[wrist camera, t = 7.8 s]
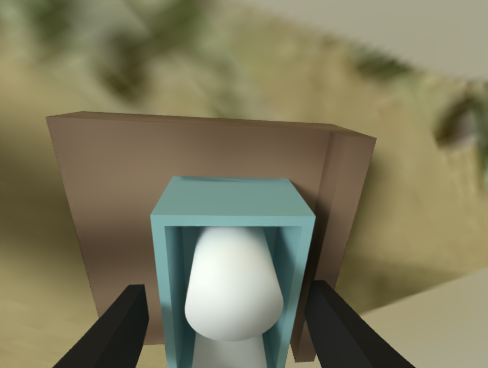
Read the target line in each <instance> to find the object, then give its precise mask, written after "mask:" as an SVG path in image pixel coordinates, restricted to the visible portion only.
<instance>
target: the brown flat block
mask: <svg viewBox="0 0 488 368" xmlns="http://www.w3.org/2000/svg"><path fill="white" fill-rule="evenodd" d="M46 120H47V124H48V128H49V132H50V135H51V139H52V143H53V147H54V151H55V154H56V158H57V162H58V166H59V169H60V173H61V177H62V181H63V185H64V188H65V192H66V196H67V200H68V203H69V207H70V211H71V215H72V218H73V222H74V226H75V230H76V234H77V237H78V241H79V245H80V249H81V252H82V256H83V260H84V264H85V267H86V271H87V275H88V279H89V283H90V286H91V290H92V294H93V298H94V301H95V305H96V309H97V313H98V316H99V318H100V317H101V316H102V315H103V314H104V313H105V311H106V310H107V309H108V308H109V307H110V306H111V305H112V303H113V302H114V301H115V300H116V299H117V298H118V296H119V295H120V294H121V293H122V292H123V291H124V289H125V288H126V287H127V286H128V285H132V284H145V291H146V298H147V305H148V312H149V323H148V327H147V331H146V335H145V339H144V343H143V345H156V344H165V341H164V332H163V323H162V315H161V306H160V297H159V288H158V279H157V271H156V262H155V253H154V244H153V235H152V227H151V218H150V215H151V213H152V211H153V209H154V208H155V206H156V204H157V203H158V201H159V199H160V197H161V196H162V194H163V192H164V191H165V189H166V187H167V185H168V184H169V182H170V180H171V179H172V177H173V176H194V177H234V178H275V179H289V180H290V182H291V183H292V185H293V186H294V187H295V189H296V190H297V191H298V193H299V194H300V195H301V197H302V198H303V200H304V201H305V202H306V204H307V205H308V206H309V208H310V209H311V211H312V212H313V213H314V215H315V216H316V218H315V222H314V227H313V232H312V237H311V242H310V247H309V252H308V256H307V261H306V266H305V271H304V276H303V281H302V285H301V290H300V295H299V300H298V305H297V310H296V315H295V319H294V324H293V329H292V334H291V339H290V344H291V348H292V351H293V356H294V359H295V362H310V361H314V359H315V356H316V351H315V348H314V346H313V343H312V340H311V337H310V334H309V330H308V326H307V322H306V318H305V314H304V311H305V306H306V302H307V298H308V293H309V289H310V284H311V280H325V281H326V282H327V283H328V284H329V285H330V286H331V287H332V288H333V289H334V288H335V285H336V281H337V277H338V274H339V270H340V267H341V263H342V260H343V256H344V253H345V249H346V246H347V242H348V238H349V235H350V231H351V228H352V224H353V221H354V217H355V214H356V210H357V207H358V203H359V199H360V196H361V192H362V189H363V185H364V182H365V178H366V175H367V171H368V167H369V164H370V160H371V157H372V153H373V150H374V146H375V143H376V139H377V138H374V137H371V136H368V135H365V134H361V133H358V132H355V131H352V130H349V129H346V128H342V127H339V126H336V125H333V124H319V123H300V122H280V121H260V120H241V119H221V118H201V117H182V116H162V115H142V114H123V113H103V112H83V111H81V112H75V113H68V114H62V115H55V116H49V117H46Z"/></svg>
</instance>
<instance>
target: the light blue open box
mask: <svg viewBox="0 0 488 368" xmlns="http://www.w3.org/2000/svg"><path fill="white" fill-rule="evenodd" d="M150 218H151V227H152V235H153V244H154V253H155V262H156V271H157V279H158V288H159V297H160V306H161V315H162V323H163V332H164V341H165V350H166V359H167V367H168V368H285V363H286V358H287V353H288V348H289V344H290V339H291V334H292V329H293V324H294V319H295V315H296V310H297V305H298V300H299V295H300V290H301V285H302V281H303V276H304V271H305V266H306V261H307V256H308V252H309V247H310V242H311V237H312V232H313V227H314V222H315V218H316V216H315V215H314V213H313V212H312V211H311V209H310V208H309V206H308V205H307V204H306V202H305V201H304V200H303V198H302V197H301V195H300V194H299V193H298V191H297V190H296V189H295V187H294V186H293V185H292V183H291V182H290V180H289V179H275V178H234V177H194V176H173V177H172V179H171V180H170V182H169V184H168V185H167V187H166V189H165V191H164V192H163V194H162V196H161V197H160V199H159V201H158V203H157V204H156V206H155V208H154V209H153V211H152V213H151V215H150Z"/></svg>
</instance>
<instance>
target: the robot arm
mask: <svg viewBox="0 0 488 368" xmlns="http://www.w3.org/2000/svg"><path fill="white" fill-rule="evenodd" d="M304 314H305V318H306V322H307V326H308V330H309V334H310V337H311V340H312V343H313V346H314V348H315V351H316V354H317V356H318V359H319V361H320V364H321V367H322V368H415V367H414V366H413V365H412V364H410V363H409V362H408V361H407V360H406V359H404V357H402V356H401V355H400V354H399V353H398V352H397V351H396V350H394V349H393V348H392V347H391V346H390V345H389V344H388V343H387V342H386V341H385V340H384V339H382V338H381V337H380V336H379V335H378V334H377V333H376V332H375V331H374V330H373V329H372V328H371V327H370V326H369V325H368V324H367V323H366V322H365V321H364V320H362V319H361V317H360V316H359V315H358V314H357V313H356V312H355V311H354V310H353V309H352V308H351V307H350V306H349V305H348V304H347V303H346V302H345V301H344V300H343V299H342V298H341V297H340V296H339V295H338V294H337V293H336V292H335V290H334V289H333V288H332V287H331V286H330V285H329V284H328V283H327V282H326V281H325V280H311V284H310V289H309V293H308V298H307V302H306V306H305V311H304ZM148 323H149V312H148V305H147V298H146V291H145V284H132V285H128V286H127V287H126V288H125V289H124V291H123V292H122V293H121V294H120V295H119V296H118V298H117V299H116V300H115V301H114V302H113V303H112V305H111V306H110V307H109V308H108V309H107V310H106V311H105V313H104V314H103V315H102V316H101V317H100V318H99V319H98V320H97V321H96V323H95V324H94V325H93V326H92V327H91V328H90V329H89V330H88V331H87V332H86V333H85V335H84V336H83V337H82V338H81V339H80V340H79V341H78V342H77V343H76V344H75V345H74V346H73V347H72V348H71V349H70V350H69V351H68V352H67V353H66V354H65V355H64V356H63V357H62V358H61V359H60V360H59V361H58V362H57V363H56V364H55V365H54V366H53V367H52V368H136V365H137V362H138V359H139V356H140V353H141V350H142V347H143V343H144V339H145V335H146V331H147V327H148Z"/></svg>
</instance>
